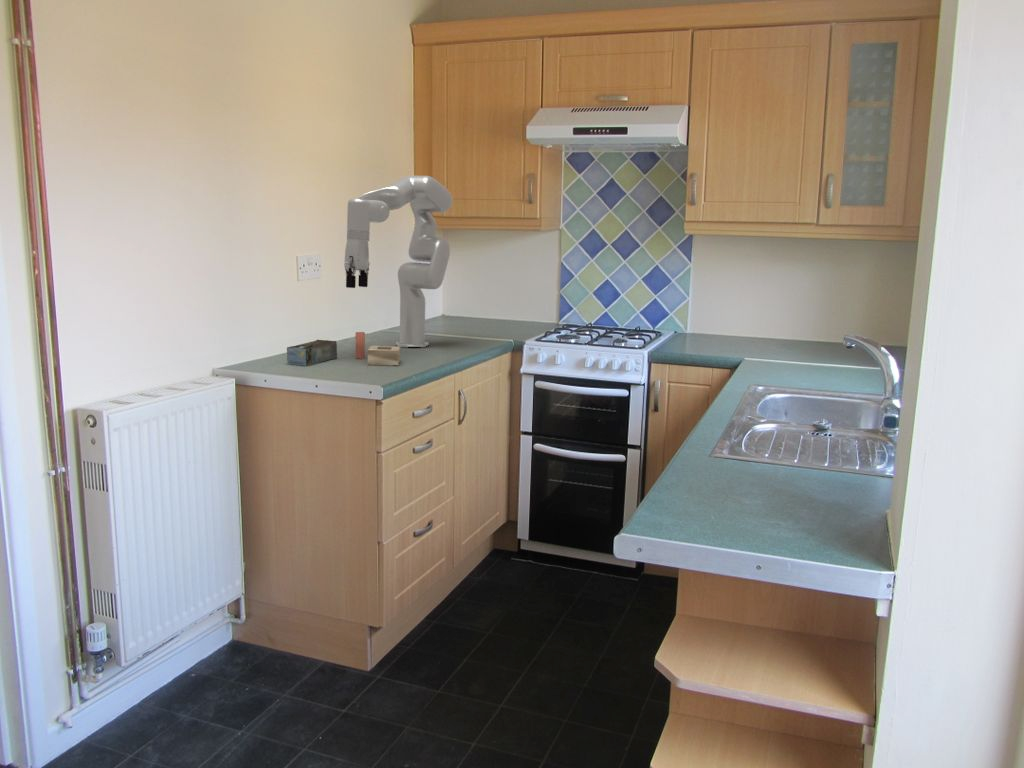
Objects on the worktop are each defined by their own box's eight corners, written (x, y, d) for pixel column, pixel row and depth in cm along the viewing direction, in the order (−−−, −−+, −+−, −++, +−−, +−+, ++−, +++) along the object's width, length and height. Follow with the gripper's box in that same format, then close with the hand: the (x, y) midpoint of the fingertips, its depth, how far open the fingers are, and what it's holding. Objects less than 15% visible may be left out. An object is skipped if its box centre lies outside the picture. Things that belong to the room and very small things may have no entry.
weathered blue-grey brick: (285, 364, 281) (285, 344, 280) (318, 357, 299) (318, 338, 298) (306, 367, 278) (306, 347, 277) (338, 359, 296) (338, 340, 295)
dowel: (356, 357, 299) (356, 331, 297) (365, 357, 299) (365, 332, 297) (354, 359, 296) (354, 333, 294) (364, 359, 296) (364, 333, 294)
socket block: (370, 360, 295) (371, 345, 294) (400, 360, 295) (400, 346, 294) (367, 365, 285) (367, 350, 284) (398, 365, 285) (398, 351, 284)
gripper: (358, 236, 300) (357, 285, 302) (336, 235, 283) (335, 287, 286) (378, 237, 298) (377, 287, 301) (357, 236, 281) (356, 288, 284)
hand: (356, 287), depth 293 cm, fingers open, 9 cm apart
